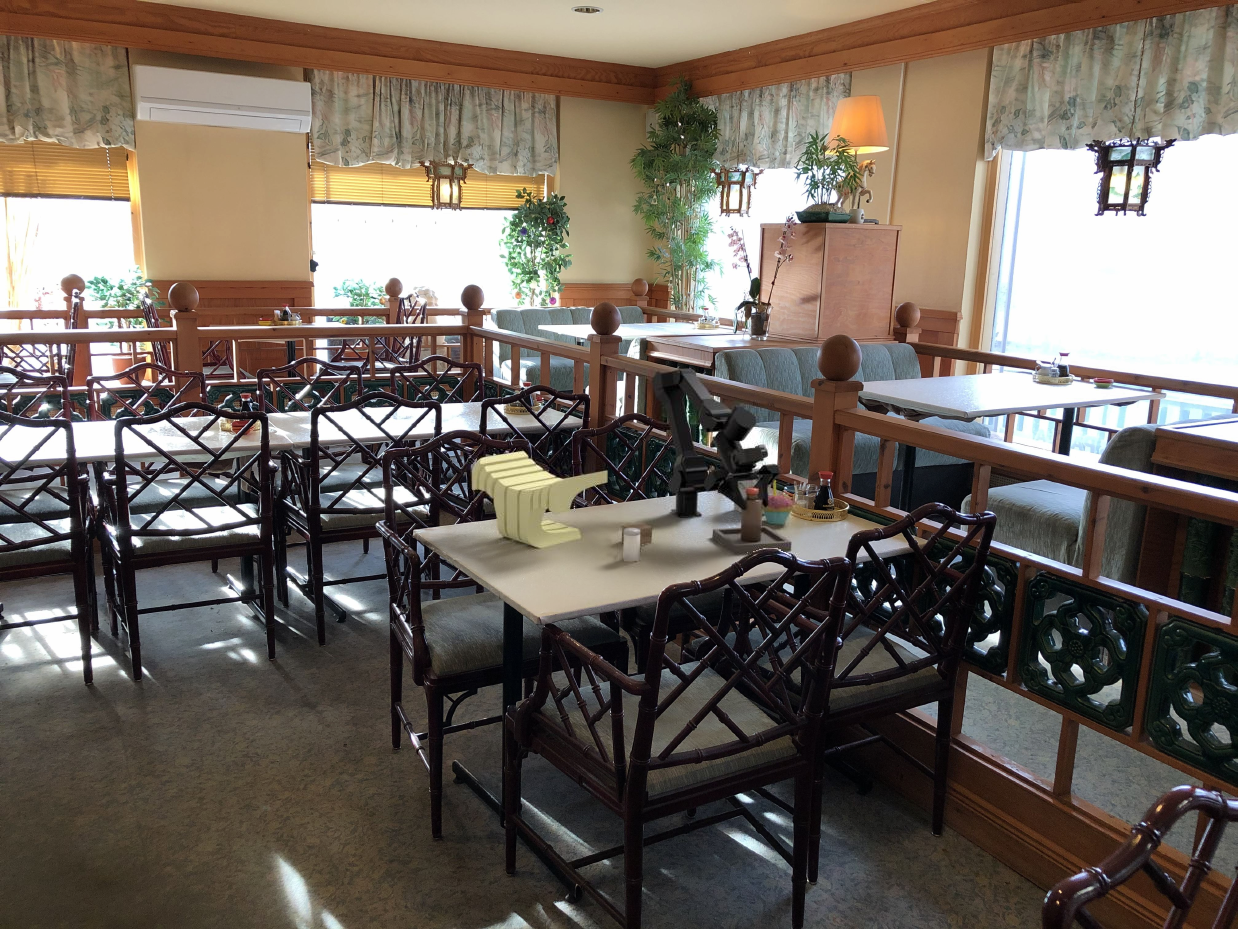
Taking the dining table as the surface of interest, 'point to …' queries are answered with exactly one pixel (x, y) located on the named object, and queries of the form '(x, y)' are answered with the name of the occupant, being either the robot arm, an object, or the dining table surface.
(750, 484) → the supplement box
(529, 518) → the slatted curved stool
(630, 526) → the walnut block
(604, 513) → the dining table surface
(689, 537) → the dining table surface
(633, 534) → the salt shaker
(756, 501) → the soy bottle
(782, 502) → the cupcake
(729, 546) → the tray
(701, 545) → the dining table surface
